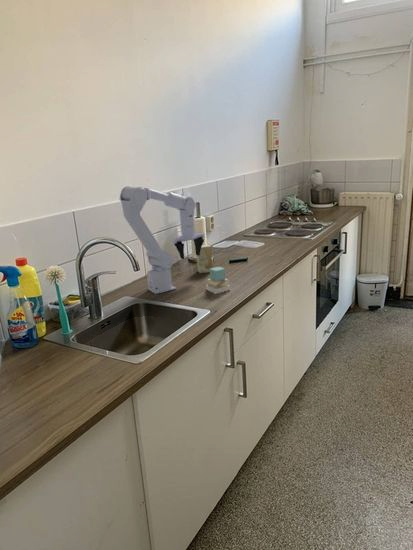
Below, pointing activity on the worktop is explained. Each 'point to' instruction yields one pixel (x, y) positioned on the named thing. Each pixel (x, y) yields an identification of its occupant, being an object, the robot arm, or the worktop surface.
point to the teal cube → (217, 274)
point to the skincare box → (204, 259)
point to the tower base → (217, 289)
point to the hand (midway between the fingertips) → (190, 256)
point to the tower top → (218, 283)
